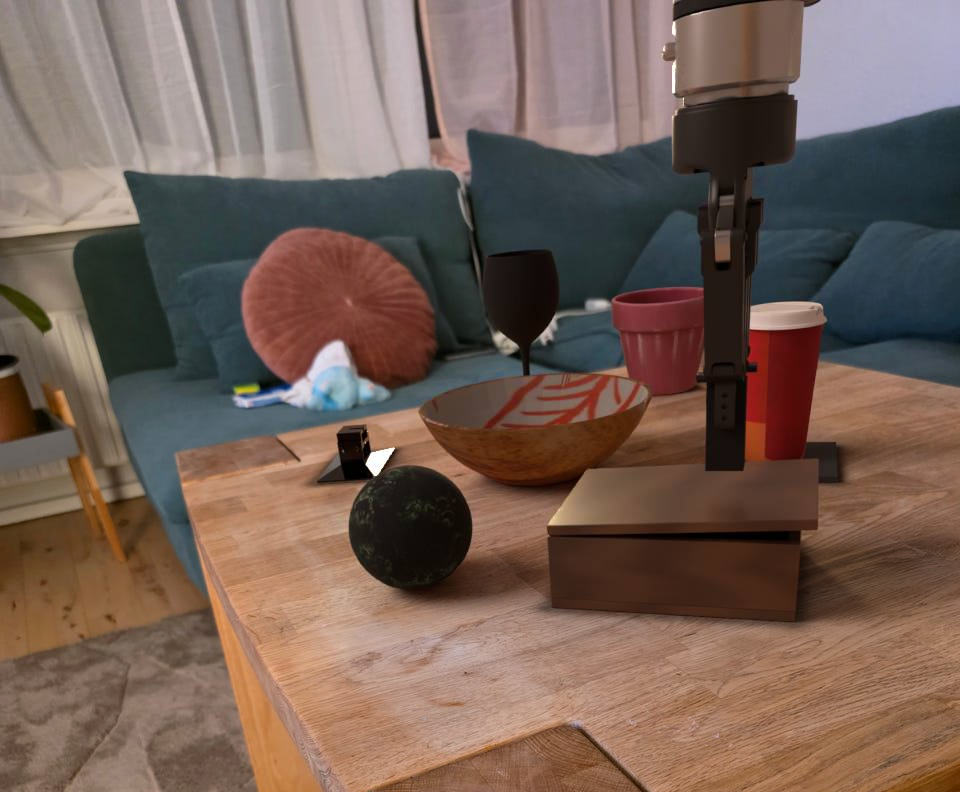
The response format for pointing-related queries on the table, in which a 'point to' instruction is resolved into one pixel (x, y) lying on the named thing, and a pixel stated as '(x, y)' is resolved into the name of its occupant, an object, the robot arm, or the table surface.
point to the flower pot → (661, 336)
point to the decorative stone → (410, 527)
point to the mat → (823, 459)
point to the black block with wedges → (355, 457)
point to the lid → (692, 499)
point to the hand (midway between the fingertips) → (725, 467)
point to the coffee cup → (781, 378)
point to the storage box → (678, 573)
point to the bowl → (537, 424)
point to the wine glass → (521, 295)
